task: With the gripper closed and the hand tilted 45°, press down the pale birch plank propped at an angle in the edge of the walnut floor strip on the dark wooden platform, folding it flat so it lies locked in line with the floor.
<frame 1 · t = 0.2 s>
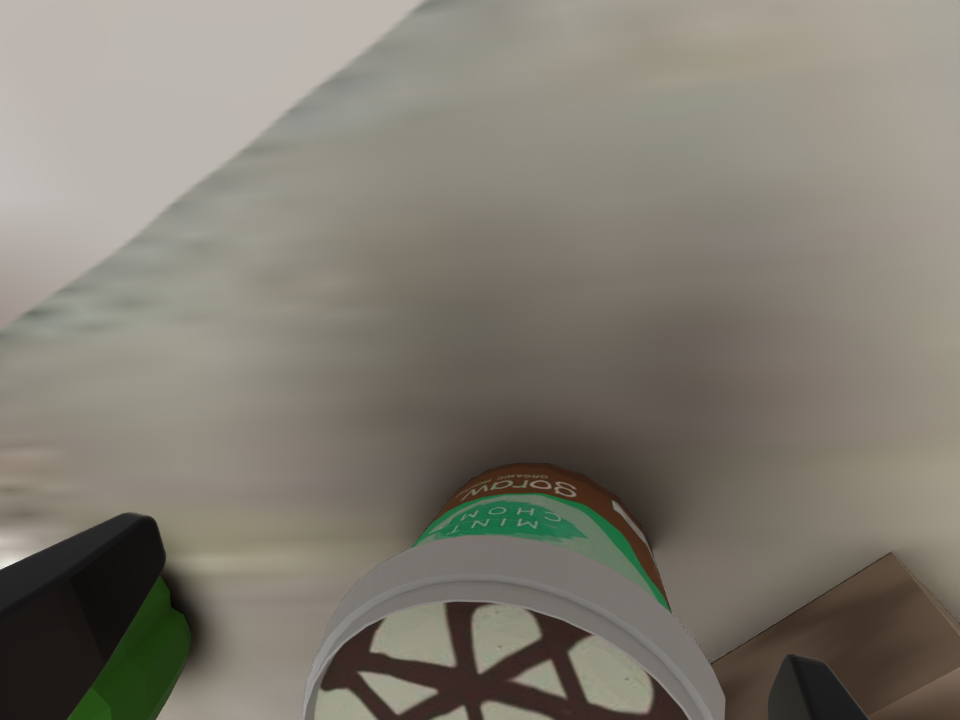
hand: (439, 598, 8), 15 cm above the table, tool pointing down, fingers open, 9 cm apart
food container: (517, 505, 25), on the table
bell pepper: (146, 609, 31), on the table
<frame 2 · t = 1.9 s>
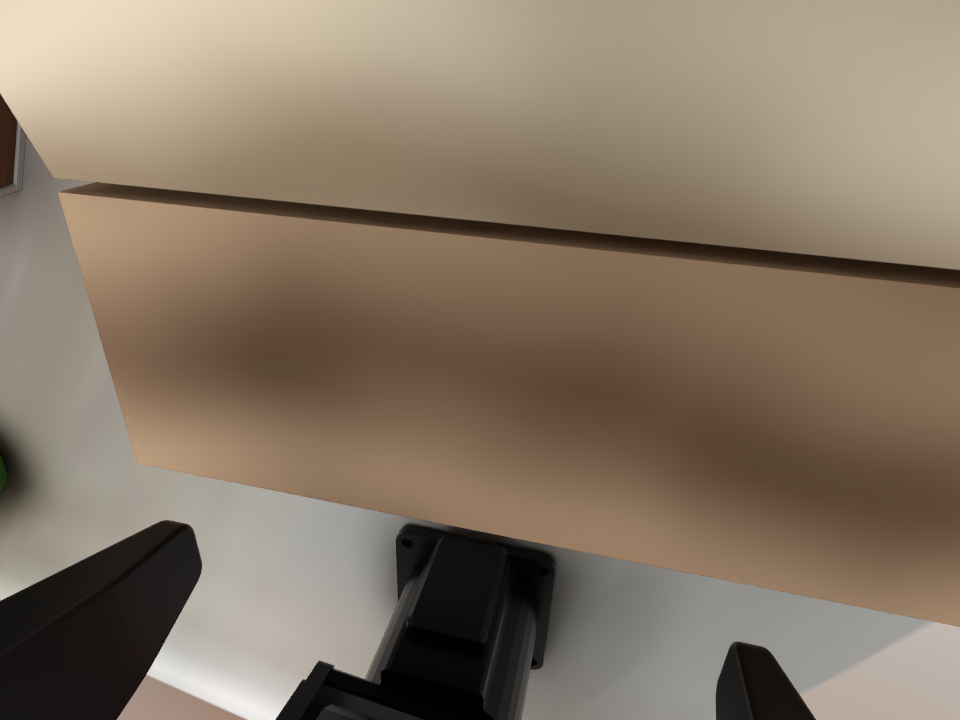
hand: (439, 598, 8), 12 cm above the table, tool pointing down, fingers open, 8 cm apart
floor platform: (576, 59, 16), on the table
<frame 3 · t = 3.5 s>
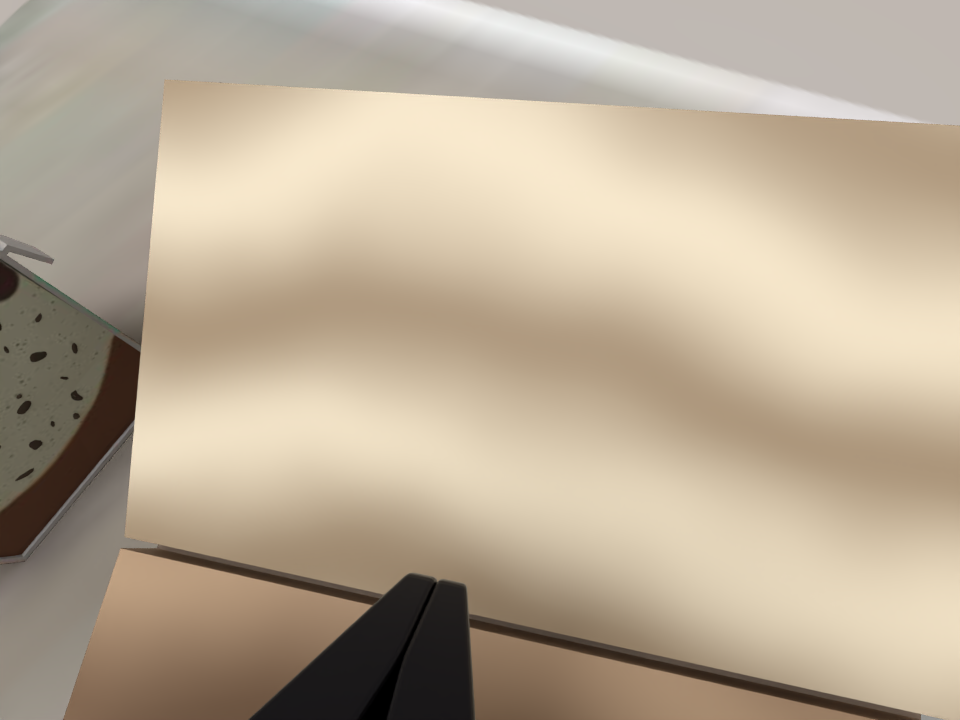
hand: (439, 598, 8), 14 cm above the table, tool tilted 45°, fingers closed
food container: (64, 423, 26), on the table
floor platform: (525, 522, 22), on the table
pale plank: (525, 366, 15), point 8 cm above the table, hinge at 20.0°
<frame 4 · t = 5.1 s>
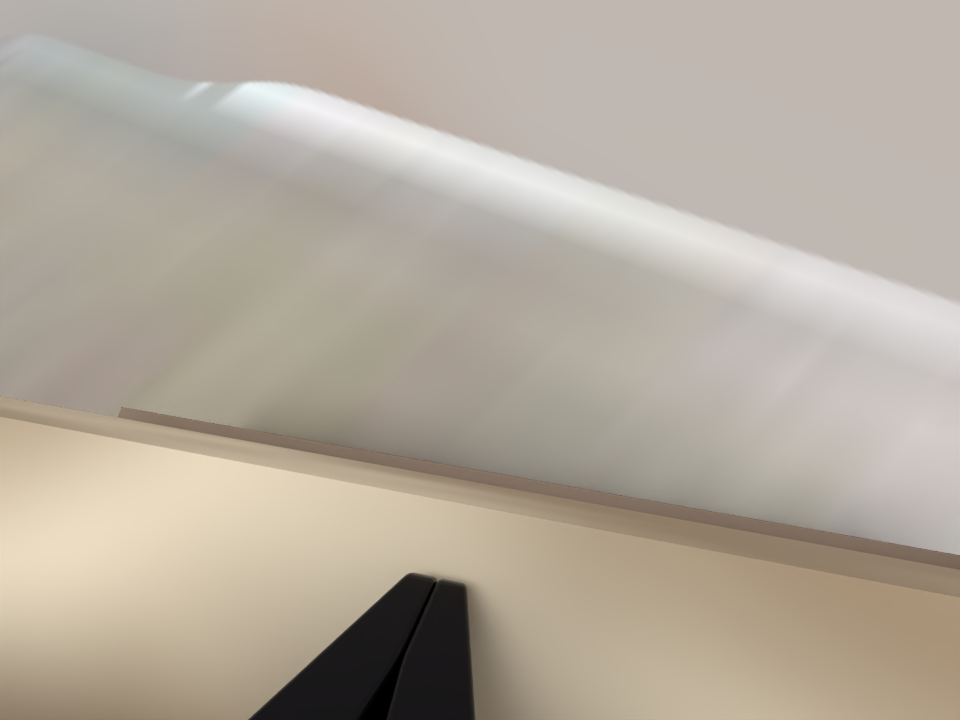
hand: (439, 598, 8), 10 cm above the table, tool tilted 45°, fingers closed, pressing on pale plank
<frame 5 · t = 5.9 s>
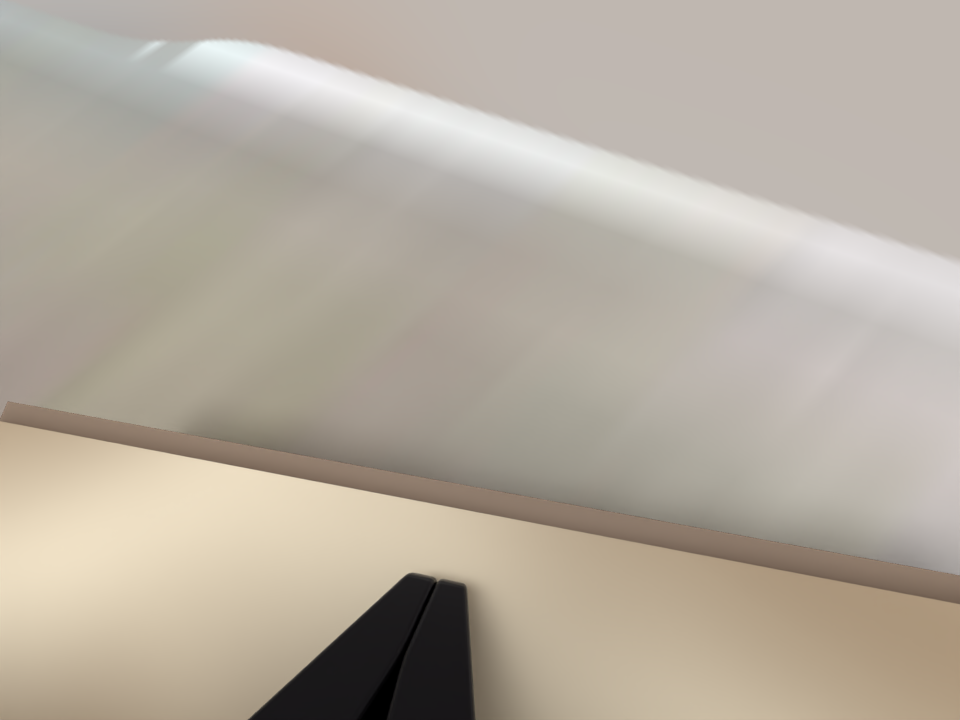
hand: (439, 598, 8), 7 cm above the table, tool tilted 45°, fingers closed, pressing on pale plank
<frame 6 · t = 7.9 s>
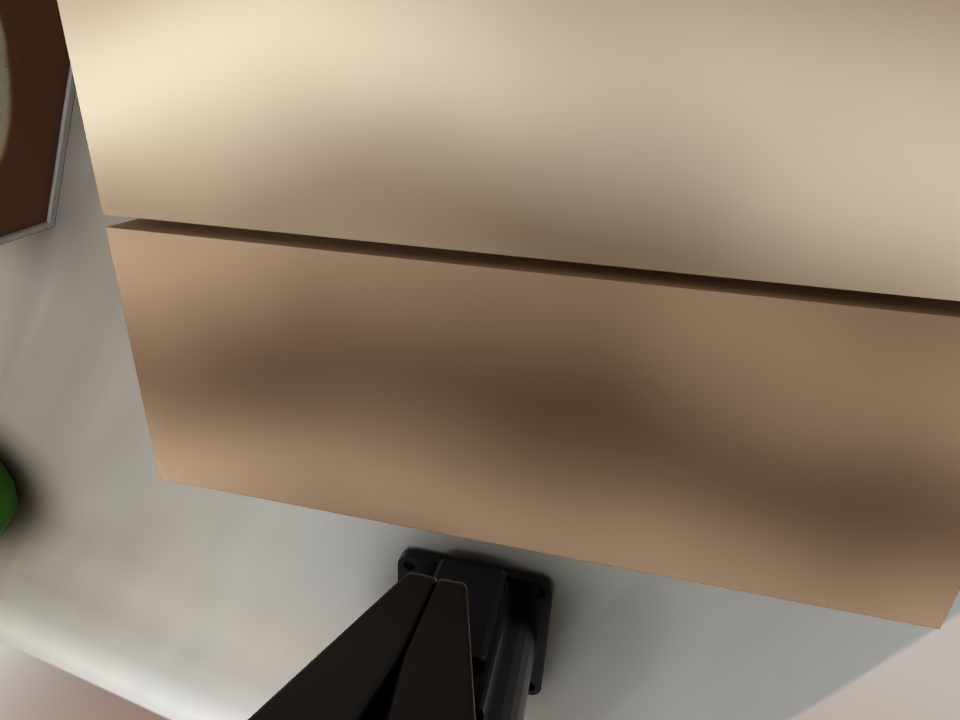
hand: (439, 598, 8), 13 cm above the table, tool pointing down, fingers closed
food container: (1, 66, 21), on the table
floor platform: (568, 113, 17), on the table
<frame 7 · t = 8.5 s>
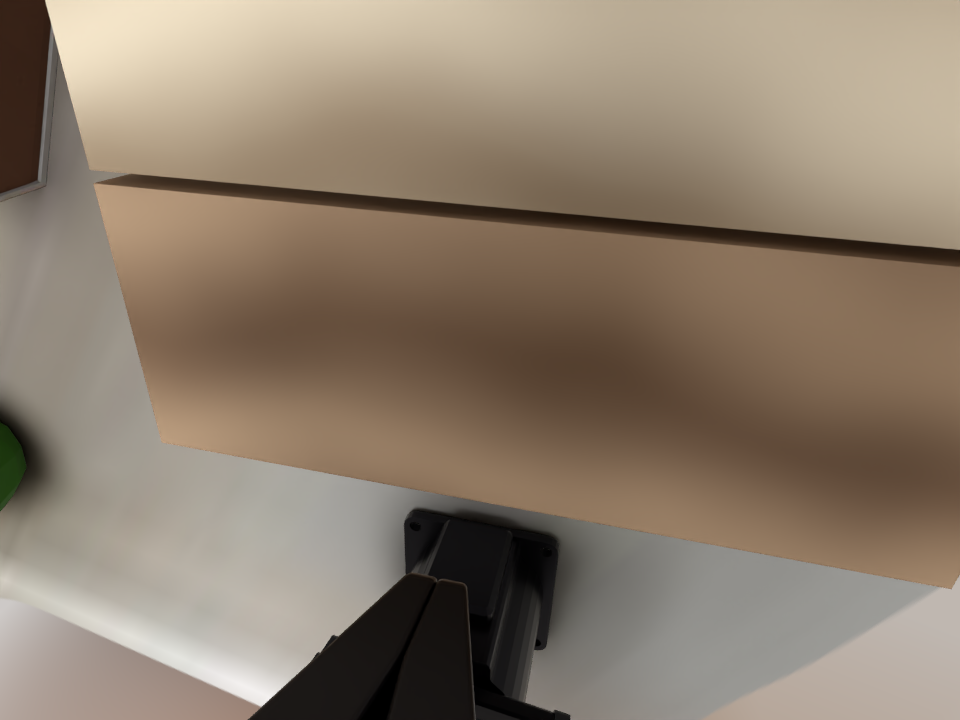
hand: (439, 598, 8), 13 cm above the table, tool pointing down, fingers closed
floor platform: (576, 57, 17), on the table
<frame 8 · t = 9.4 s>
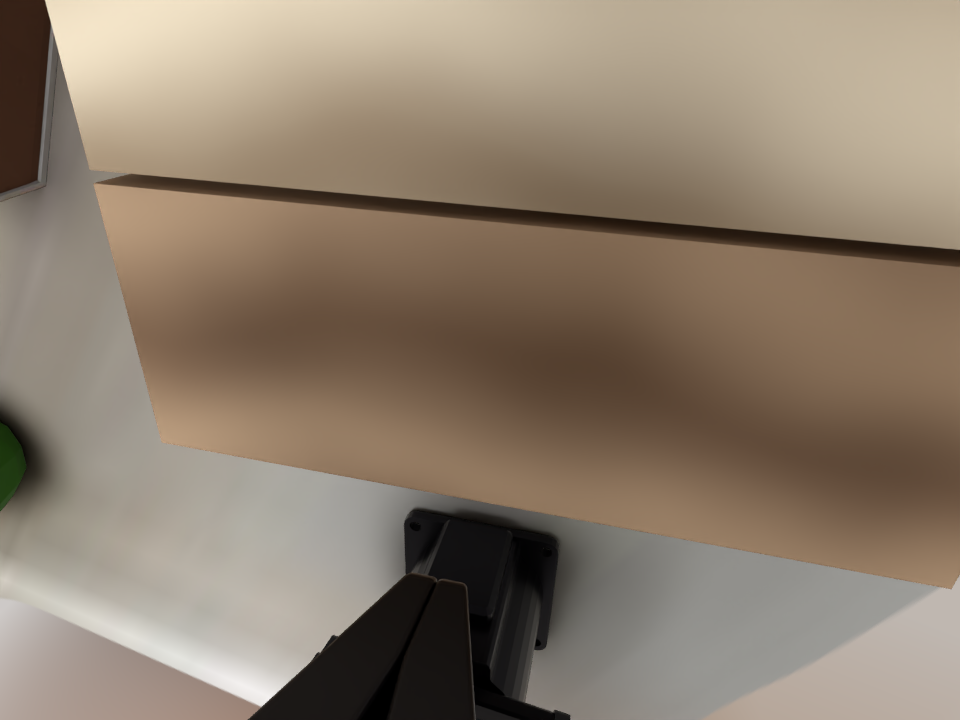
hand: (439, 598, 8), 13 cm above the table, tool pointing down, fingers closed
floor platform: (576, 57, 17), on the table
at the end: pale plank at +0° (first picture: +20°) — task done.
